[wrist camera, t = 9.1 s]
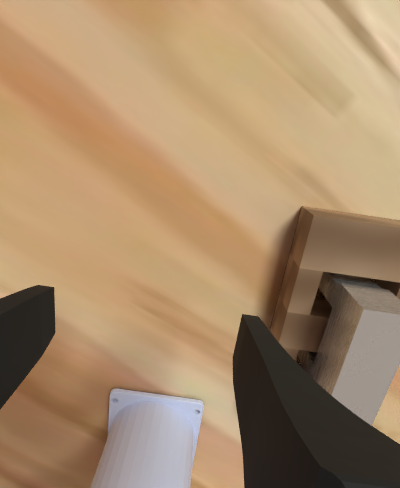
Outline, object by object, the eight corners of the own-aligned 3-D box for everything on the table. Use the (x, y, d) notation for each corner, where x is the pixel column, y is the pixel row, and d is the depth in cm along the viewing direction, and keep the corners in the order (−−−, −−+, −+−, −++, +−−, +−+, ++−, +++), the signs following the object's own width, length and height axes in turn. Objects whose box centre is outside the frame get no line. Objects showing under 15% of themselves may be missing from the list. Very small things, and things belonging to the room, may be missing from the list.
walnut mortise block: (347, 404, 25) (361, 431, 23) (254, 391, 25) (258, 417, 23) (420, 223, 20) (448, 235, 18) (301, 206, 20) (313, 215, 18)
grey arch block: (333, 360, 24) (370, 429, 18) (295, 355, 24) (321, 422, 18) (365, 269, 21) (420, 317, 16) (323, 263, 21) (363, 309, 16)
